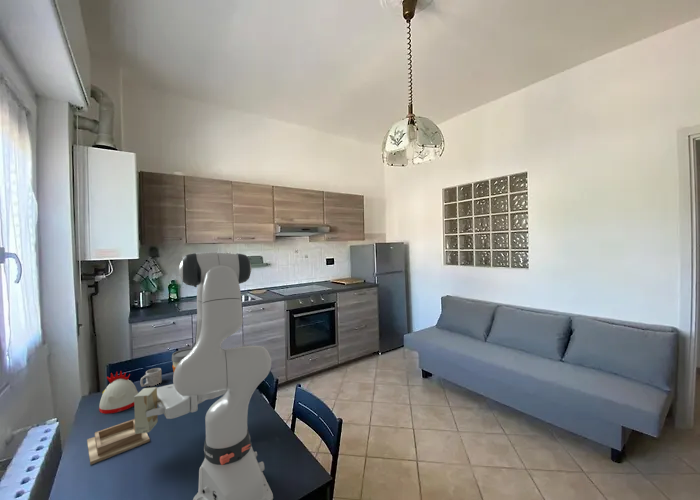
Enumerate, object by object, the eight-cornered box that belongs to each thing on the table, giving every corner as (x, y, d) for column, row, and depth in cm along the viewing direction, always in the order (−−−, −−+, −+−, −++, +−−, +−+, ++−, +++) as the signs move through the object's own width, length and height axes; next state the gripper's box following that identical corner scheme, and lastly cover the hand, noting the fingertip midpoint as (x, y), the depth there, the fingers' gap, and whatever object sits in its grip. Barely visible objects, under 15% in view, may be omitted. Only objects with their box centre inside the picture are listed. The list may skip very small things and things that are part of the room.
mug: (155, 379, 158) (155, 367, 157) (164, 381, 155) (164, 368, 155) (136, 388, 148) (135, 375, 148) (145, 390, 146) (145, 376, 146)
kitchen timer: (103, 402, 135) (102, 369, 135) (140, 394, 142) (139, 362, 142) (95, 417, 123) (94, 381, 123) (136, 407, 130) (135, 373, 130)
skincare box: (149, 433, 97) (148, 395, 96) (134, 434, 96) (133, 397, 96) (158, 421, 103) (157, 386, 103) (144, 422, 102) (143, 387, 102)
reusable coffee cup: (169, 381, 155) (168, 352, 155) (196, 373, 164) (195, 346, 164) (175, 389, 146) (174, 358, 146) (203, 381, 155) (202, 352, 154)
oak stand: (149, 441, 107) (149, 431, 107) (90, 464, 96) (89, 454, 95) (141, 423, 118) (140, 414, 118) (87, 442, 107) (86, 432, 107)
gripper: (180, 376, 116) (137, 389, 106) (197, 394, 101) (149, 411, 91) (180, 392, 116) (137, 406, 106) (198, 413, 101) (150, 431, 91)
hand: (143, 408), depth 99 cm, fingers closed on skincare box, 7 cm apart
